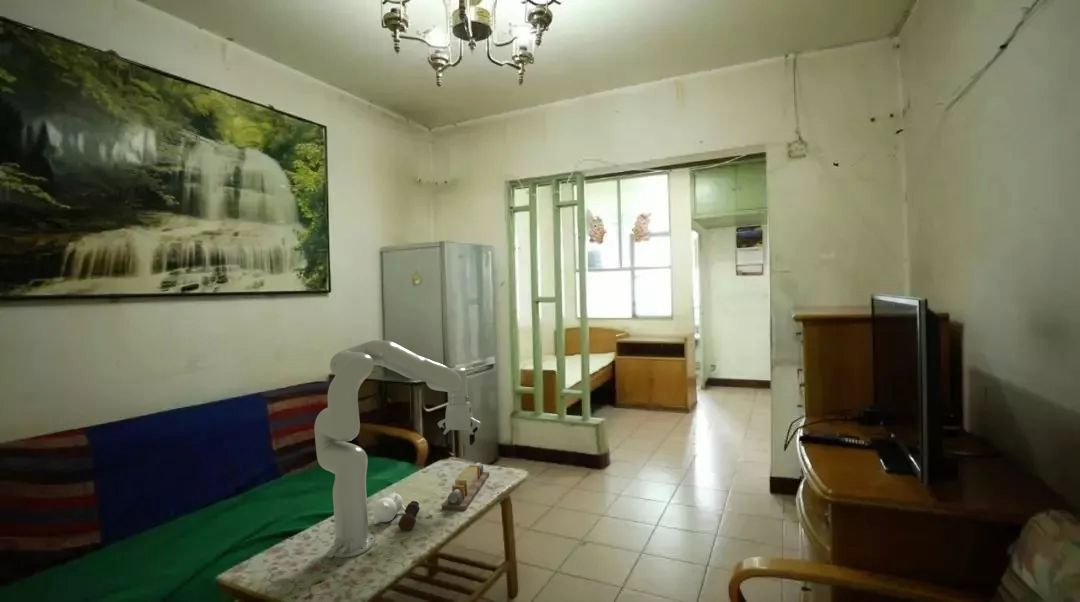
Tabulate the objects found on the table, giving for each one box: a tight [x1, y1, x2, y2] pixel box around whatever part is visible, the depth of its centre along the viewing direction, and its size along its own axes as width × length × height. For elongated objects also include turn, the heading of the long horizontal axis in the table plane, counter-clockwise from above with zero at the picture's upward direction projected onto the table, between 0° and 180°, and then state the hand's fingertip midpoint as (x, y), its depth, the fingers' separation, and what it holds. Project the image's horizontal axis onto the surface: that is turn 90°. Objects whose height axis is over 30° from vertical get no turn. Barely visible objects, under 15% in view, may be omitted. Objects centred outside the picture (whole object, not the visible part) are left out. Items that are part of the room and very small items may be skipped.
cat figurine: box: [372, 491, 407, 525], centre depth 156 cm, size 9×11×12 cm
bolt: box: [397, 500, 421, 532], centre depth 154 cm, size 6×5×15 cm
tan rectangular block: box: [454, 466, 478, 495], centre depth 174 cm, size 4×13×6 cm, turn 170°
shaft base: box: [441, 462, 490, 511], centre depth 175 cm, size 30×9×6 cm, turn 171°
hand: (460, 443), depth 174 cm, fingers open, 9 cm apart
